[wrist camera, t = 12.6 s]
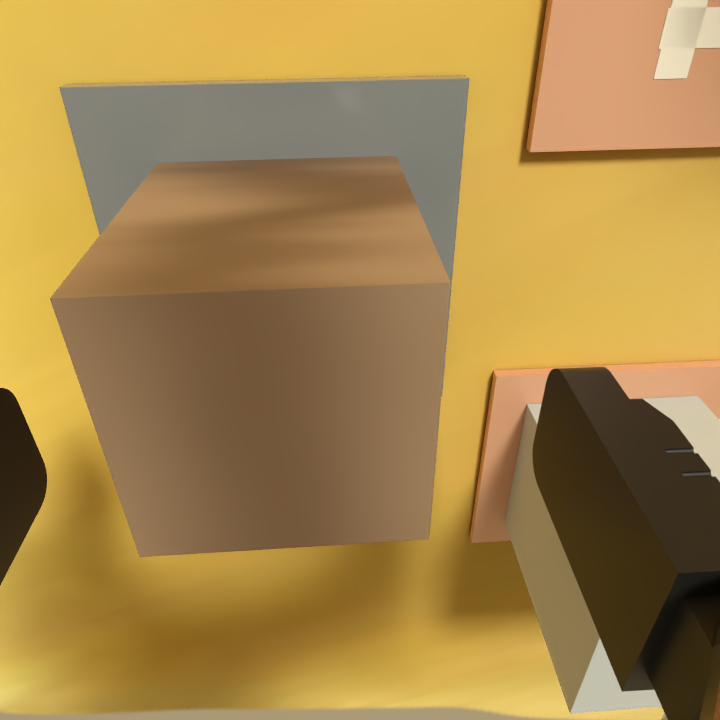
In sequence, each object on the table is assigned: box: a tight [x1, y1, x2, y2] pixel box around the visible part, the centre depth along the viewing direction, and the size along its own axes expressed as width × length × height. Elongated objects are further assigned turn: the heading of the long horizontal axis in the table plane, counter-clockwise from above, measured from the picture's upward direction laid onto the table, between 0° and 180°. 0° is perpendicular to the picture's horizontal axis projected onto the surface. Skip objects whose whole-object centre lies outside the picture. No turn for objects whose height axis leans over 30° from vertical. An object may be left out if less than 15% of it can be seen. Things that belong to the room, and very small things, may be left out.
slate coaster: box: [60, 75, 469, 396], centre depth 14 cm, size 8×8×1 cm
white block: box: [505, 396, 720, 713], centre depth 16 cm, size 5×5×6 cm
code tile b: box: [470, 360, 720, 543], centre depth 18 cm, size 7×7×1 cm
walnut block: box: [50, 156, 451, 557], centre depth 11 cm, size 5×5×6 cm
